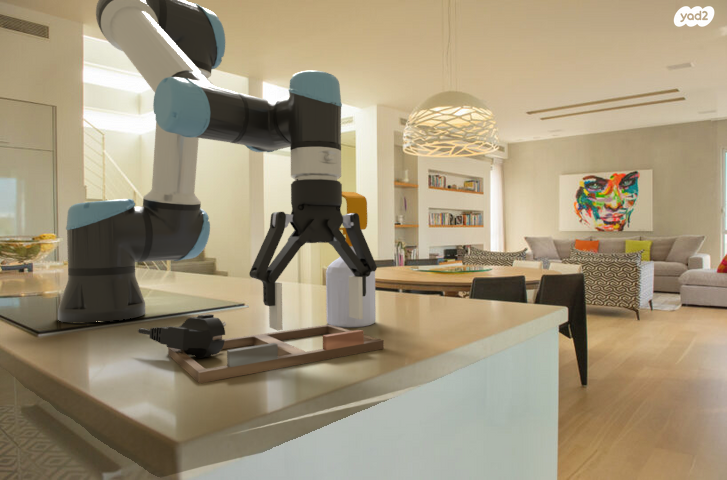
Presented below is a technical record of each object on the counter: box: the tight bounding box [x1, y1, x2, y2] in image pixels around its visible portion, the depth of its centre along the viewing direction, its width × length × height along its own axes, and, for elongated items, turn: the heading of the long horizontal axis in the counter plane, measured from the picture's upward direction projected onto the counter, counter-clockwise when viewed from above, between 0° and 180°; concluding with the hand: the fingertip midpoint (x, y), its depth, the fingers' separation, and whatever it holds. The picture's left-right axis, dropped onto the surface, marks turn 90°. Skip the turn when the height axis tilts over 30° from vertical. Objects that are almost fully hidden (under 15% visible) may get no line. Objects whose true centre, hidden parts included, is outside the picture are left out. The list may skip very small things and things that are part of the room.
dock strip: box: [167, 324, 385, 384], centre depth 66 cm, size 15×26×3 cm, turn 125°
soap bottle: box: [325, 191, 377, 329], centre depth 86 cm, size 9×9×25 cm
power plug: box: [137, 313, 227, 359], centre depth 65 cm, size 6×8×12 cm
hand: (318, 323), depth 69 cm, fingers open, 13 cm apart
